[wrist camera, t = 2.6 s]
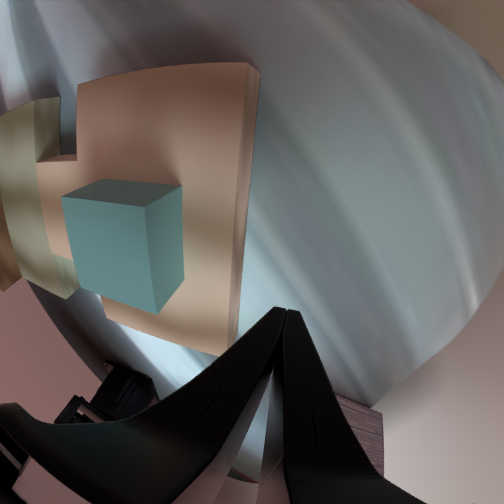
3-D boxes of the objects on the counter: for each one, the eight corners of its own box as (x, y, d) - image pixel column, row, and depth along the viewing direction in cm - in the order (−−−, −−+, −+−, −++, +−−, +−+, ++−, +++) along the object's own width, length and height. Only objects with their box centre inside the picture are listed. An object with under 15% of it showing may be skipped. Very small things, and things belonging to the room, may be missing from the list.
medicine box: (291, 404, 21) (273, 489, 14) (324, 385, 19) (313, 483, 12) (350, 428, 22) (344, 501, 15) (384, 411, 20) (384, 492, 12)
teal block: (184, 279, 14) (157, 314, 11) (112, 260, 15) (80, 287, 12) (182, 186, 12) (144, 207, 9) (101, 179, 12) (61, 196, 10)
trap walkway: (237, 332, 18) (211, 395, 14) (31, 262, 22) (-3, 287, 17) (260, 72, 11) (221, 43, 6) (9, 115, 14) (-35, 128, 10)
